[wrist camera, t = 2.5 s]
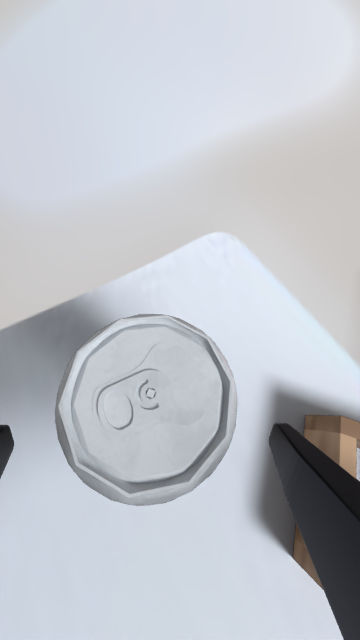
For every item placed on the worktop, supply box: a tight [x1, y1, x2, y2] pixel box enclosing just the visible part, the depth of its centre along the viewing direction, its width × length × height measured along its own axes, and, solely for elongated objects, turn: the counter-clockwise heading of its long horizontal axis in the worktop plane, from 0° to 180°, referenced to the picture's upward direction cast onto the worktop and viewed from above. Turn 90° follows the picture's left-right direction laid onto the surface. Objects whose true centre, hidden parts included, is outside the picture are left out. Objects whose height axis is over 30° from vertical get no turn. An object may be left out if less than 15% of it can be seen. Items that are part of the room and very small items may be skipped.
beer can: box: [55, 314, 237, 506], centre depth 11 cm, size 5×5×12 cm
